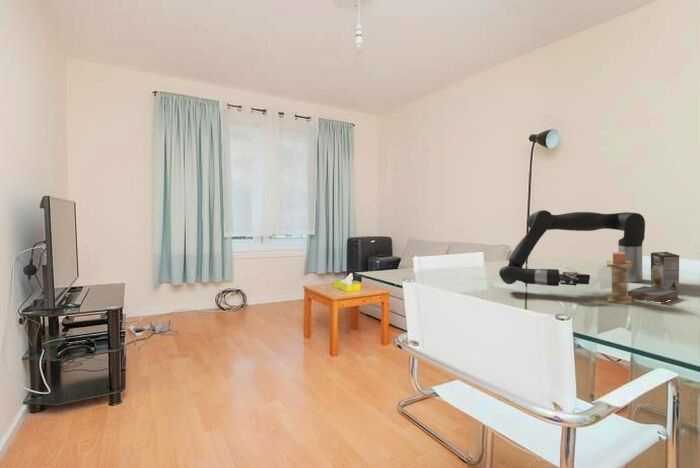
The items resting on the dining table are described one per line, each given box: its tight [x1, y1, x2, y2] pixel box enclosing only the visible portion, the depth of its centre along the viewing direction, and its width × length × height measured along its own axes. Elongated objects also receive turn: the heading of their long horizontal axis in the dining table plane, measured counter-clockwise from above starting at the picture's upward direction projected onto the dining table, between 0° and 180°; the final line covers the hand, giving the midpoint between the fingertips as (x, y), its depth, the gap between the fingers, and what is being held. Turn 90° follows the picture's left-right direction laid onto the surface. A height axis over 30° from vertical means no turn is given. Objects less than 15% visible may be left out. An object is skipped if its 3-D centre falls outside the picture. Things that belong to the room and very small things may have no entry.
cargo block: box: [612, 251, 625, 264], centre depth 150 cm, size 4×4×4 cm
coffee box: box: [650, 251, 680, 293], centre depth 160 cm, size 9×6×16 cm
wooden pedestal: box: [606, 260, 633, 305], centre depth 151 cm, size 8×8×16 cm
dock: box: [627, 285, 679, 303], centre depth 151 cm, size 12×12×3 cm
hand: (589, 279), depth 156 cm, fingers open, 8 cm apart
